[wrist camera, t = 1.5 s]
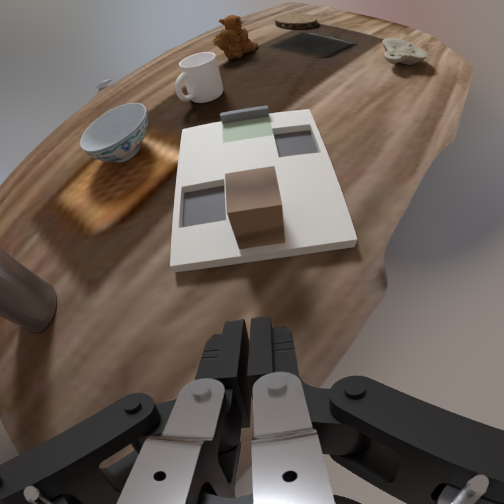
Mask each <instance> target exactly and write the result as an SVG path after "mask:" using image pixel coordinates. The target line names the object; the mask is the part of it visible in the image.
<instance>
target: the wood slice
mask: <svg viewBox="0 0 504 504" xmlns="http://www.w3.org/2000/svg"><path fill="white" fill-rule="evenodd" d="M275 24H276V26H277V27H280V28H285V29H308V28H313V27H315V26H317V18H316V17H315V16H312V15H308V14H284V15H280V16H277V17H276V18H275Z"/></svg>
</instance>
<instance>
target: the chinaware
mask: <svg viewBox="0 0 504 504" xmlns="http://www.w3.org/2000/svg"><path fill="white" fill-rule="evenodd" d="M147 125H148V118H147V112H146V108H145V107H144V106H143V105H142V104H139V103H129V104H124V105H121V106H118V107H116V108H114V109H112V110H110V111H108V112H106V113H105V114H103V115H102V116H100V117H99V118H98V119H96V120H95V121H94V122H93V123H92V124H91V125H90V126H89V127H88V128H87V130H86V131H85V132H84V134H83V136H82V138H81V143H80V144H81V148H82V149H83V150H84V151H85V152H86V153H87V154H89V155H90V156H92V157H93V158H95V159H98V160H101V161H115V162H124V161H127V160H129V159H130V158H132V157H133V156H134V155H136V153H137V152H138V151H139V149H140V144H141V143H142V141H143V139H144V137H145V135H146V131H147Z"/></svg>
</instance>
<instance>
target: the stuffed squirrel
mask: <svg viewBox="0 0 504 504" xmlns="http://www.w3.org/2000/svg"><path fill="white" fill-rule="evenodd" d="M240 19H241V17H240V16H235V15H231V16H228V17H226V18H225V19H220V20H219V22H220V23H222V24H223V25H225V28H226V30H223V31H221V33H220V34H219V35H217V36H215V37H216V38H215V39H214V40H213V42H214V43H215V44H214V45H217V46H218V47H219V48H220V49H221V50H223V51H224V53H225V55H226V56H227V57H228V58H230V59H238V58H241V57H242V55H243V54H247V53H250V52H253V51H254V50H255V49H256V48H257V47H258V44H257V43H252V42H251V40H250V39H248V32H247V30H246V29H245V28H242V29H241V24H242V23H241V21H242V20H241V21H240ZM242 22H243V21H242ZM243 23H244V22H243Z"/></svg>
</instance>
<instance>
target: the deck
mask: <svg viewBox="0 0 504 504" xmlns="http://www.w3.org/2000/svg"><path fill="white" fill-rule="evenodd" d="M220 117H221V122H215V123H210V124H205V125H200V126H196V127H191V128H187V129H182V137H181V145H180V153H179V161H178V170H177V179H176V190H175V200H174V212H173V226H172V241H171V259H170V267H171V268H172V269H173V270H174V271H175V272H182V271H190V270H197V269H204V268H212V267H219V266H226V265H233V264H241V263H248V262H255V261H262V260H269V259H276V258H283V257H290V256H297V255H304V254H310V253H317V252H324V251H331V250H338V249H344V248H351V247H355V245H356V242H357V237H356V233H355V230H354V227H353V224H352V221H351V218H350V215H349V212H348V209H347V206H346V203H345V200H344V197H343V194H342V191H341V188H340V185H339V183H338V180H337V177H336V174H335V172H334V169H333V166H332V164H331V161H330V158H329V156H328V153H327V151H326V148H325V146H324V143H323V141H322V138H321V136H320V133H319V131H318V129H317V126H316V124H315V122H314V119H313V117H312V115H311V112H310V110H309V109H307V110H297V111H287V112H279V113H271V114H269V111H268V106H260V107H254V108H247V109H241V110H235V111H229V112H224V113H220ZM263 117H269V118H270V122H271V126H272V130H273V134H274V135H271V136H264V137H257V138H250V139H244V140H238V141H232V142H226V143H223V131H222V124H225V123H231V122H237V121H243V120H249V119H256V118H263ZM271 166H275V171H276V176H277V181H278V186H279V191H280V196H281V201H282V208H283V221H284V234H285V243H281V244H274V245H267V246H260V247H253V248H246V249H239V248H238V245H237V242H236V239H235V236H234V233H233V230H232V227H231V224H230V221H229V218H228V215H227V207H226V187H225V174H227V173H232V172H238V171H245V170H251V169H257V168H264V167H271Z"/></svg>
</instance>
